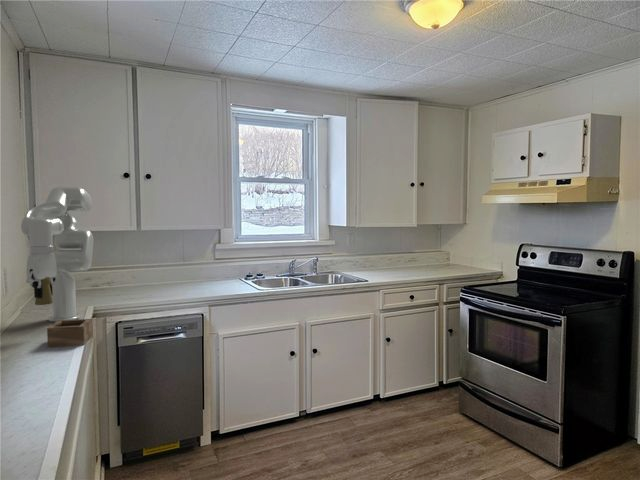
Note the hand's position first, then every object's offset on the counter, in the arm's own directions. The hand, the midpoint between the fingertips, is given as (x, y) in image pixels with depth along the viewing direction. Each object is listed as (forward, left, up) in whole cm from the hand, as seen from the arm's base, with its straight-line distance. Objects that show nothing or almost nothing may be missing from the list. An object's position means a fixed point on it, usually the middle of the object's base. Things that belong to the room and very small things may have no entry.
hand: (43, 296), depth 171 cm
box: (+9, +12, -16) cm, 22 cm away
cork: (0, 0, -3) cm, 3 cm away
